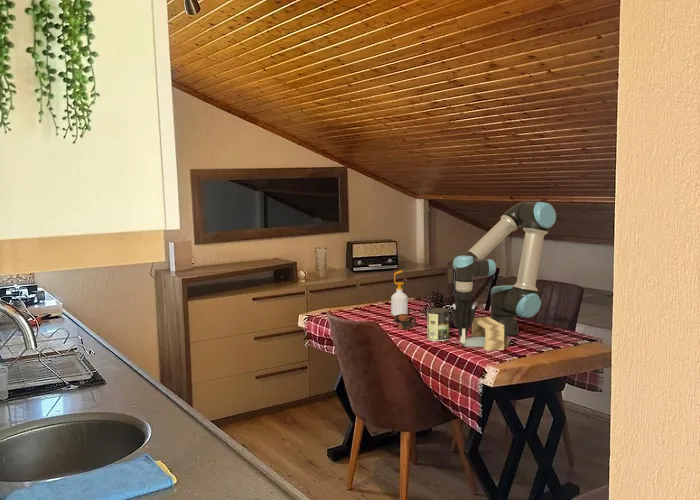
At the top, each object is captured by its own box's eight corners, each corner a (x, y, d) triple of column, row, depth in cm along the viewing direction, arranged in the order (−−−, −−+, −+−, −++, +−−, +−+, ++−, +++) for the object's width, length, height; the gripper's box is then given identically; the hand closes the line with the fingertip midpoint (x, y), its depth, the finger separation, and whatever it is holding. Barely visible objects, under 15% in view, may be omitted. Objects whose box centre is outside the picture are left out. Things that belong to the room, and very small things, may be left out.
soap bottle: (408, 316, 368) (408, 271, 365) (391, 316, 368) (391, 271, 365) (407, 312, 377) (407, 269, 374) (390, 313, 377) (390, 269, 374)
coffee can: (449, 337, 320) (449, 307, 319) (448, 342, 310) (448, 312, 309) (427, 336, 322) (428, 307, 321) (426, 341, 312) (426, 311, 311)
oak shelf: (495, 339, 315) (496, 316, 313) (512, 349, 297) (512, 324, 296) (471, 341, 312) (471, 317, 311) (486, 350, 295) (487, 326, 293)
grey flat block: (492, 343, 307) (493, 337, 307) (495, 347, 301) (495, 340, 300) (462, 342, 308) (462, 336, 308) (464, 346, 301) (464, 339, 301)
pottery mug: (393, 330, 336) (390, 315, 340) (397, 335, 345) (395, 319, 348) (416, 325, 333) (413, 310, 337) (420, 330, 342) (417, 314, 345)
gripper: (474, 289, 304) (473, 340, 306) (447, 289, 302) (446, 341, 304) (480, 291, 297) (479, 344, 299) (452, 292, 294) (451, 345, 296)
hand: (462, 342), depth 301 cm, fingers closed
